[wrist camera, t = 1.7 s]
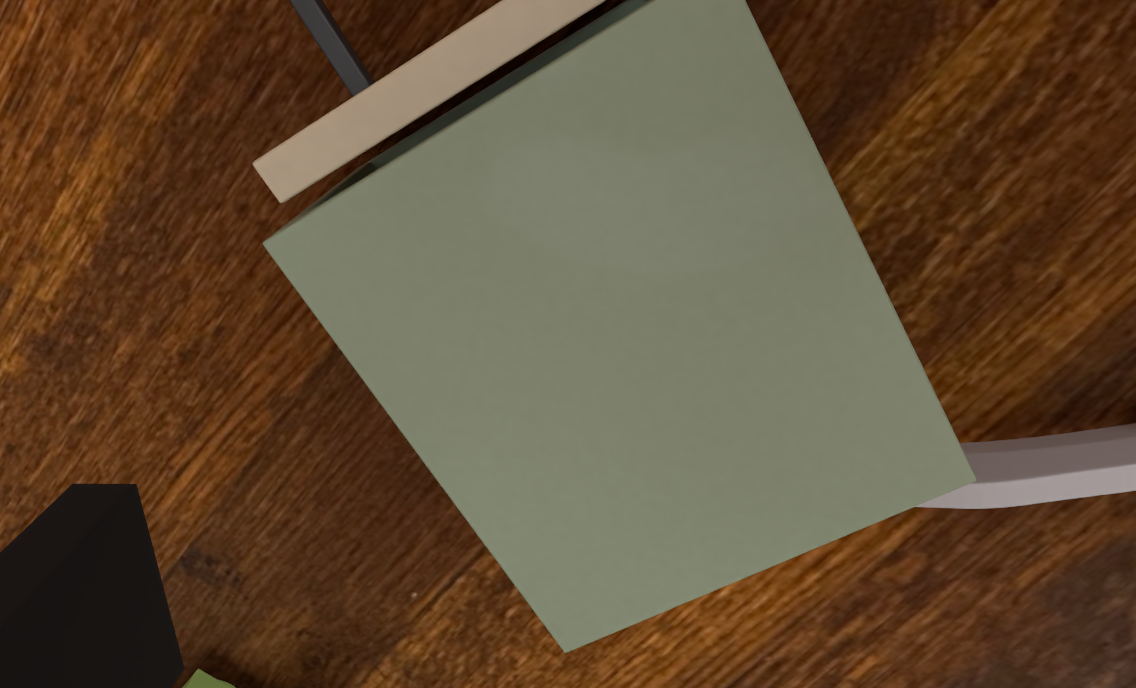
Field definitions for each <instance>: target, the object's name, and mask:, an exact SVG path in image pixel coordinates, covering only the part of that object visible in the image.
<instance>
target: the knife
mask: <svg viewBox="0 0 1136 688" xmlns="http://www.w3.org/2000/svg"><path fill="white" fill-rule="evenodd" d="M960 445H961V447H962V449H963V452H964V454H965V456H966V458H967V460H968V462H969V464H970V466H971V468H972V470H973V472H974V474H975V476H976V481H975V482H972V483H970V484H968V485H965V486H963V487H960V488H958V489H956V490H953V491H951V492H949V493H946V494H944V495H941V496H939V497H937V498H934V499H932V500H929V501H927V502H925V503H922V504H920V505H918V506H915V507H935V508H962V509H984V508H1001V507H1012V506H1021V505H1029V504H1036V503H1044V502H1051V501H1059V500H1066V499H1074V498H1082V497H1089V496H1097V495H1105V494H1113V493H1121V492H1129V491H1136V423H1134V424H1127V425H1121V426H1114V427H1107V428H1101V429H1094V430H1087V431H1080V432H1073V433H1065V434H1058V435H1050V436H1041V437H1033V438H1023V439H1012V440H1001V441H987V442H970V443H960Z"/></svg>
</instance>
